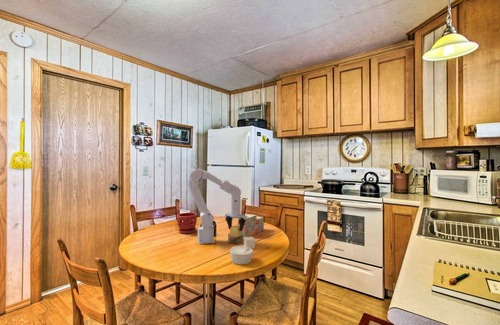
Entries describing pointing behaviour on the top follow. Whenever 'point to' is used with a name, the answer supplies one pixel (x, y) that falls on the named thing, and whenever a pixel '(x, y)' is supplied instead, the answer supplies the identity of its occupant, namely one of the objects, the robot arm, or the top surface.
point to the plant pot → (187, 222)
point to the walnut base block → (235, 239)
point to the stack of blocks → (252, 225)
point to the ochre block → (235, 231)
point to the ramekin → (241, 255)
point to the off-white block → (249, 242)
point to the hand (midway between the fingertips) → (235, 229)
